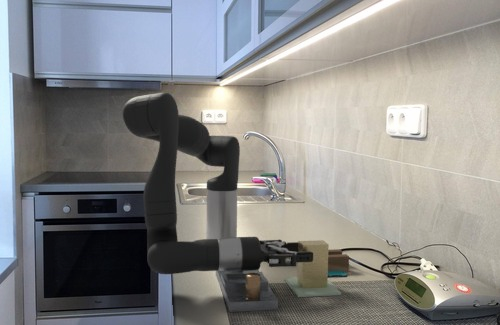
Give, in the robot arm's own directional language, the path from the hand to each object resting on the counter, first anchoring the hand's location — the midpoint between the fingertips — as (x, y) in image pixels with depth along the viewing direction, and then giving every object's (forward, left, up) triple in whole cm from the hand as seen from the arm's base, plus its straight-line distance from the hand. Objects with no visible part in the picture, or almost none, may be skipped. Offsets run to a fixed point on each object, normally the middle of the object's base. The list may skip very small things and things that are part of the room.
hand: (307, 251), depth 120 cm
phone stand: (-14, +9, -8) cm, 19 cm away
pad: (0, +1, -8) cm, 9 cm away
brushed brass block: (0, +1, -8) cm, 8 cm away
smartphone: (-14, +9, -9) cm, 19 cm away
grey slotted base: (0, -15, -8) cm, 17 cm away
